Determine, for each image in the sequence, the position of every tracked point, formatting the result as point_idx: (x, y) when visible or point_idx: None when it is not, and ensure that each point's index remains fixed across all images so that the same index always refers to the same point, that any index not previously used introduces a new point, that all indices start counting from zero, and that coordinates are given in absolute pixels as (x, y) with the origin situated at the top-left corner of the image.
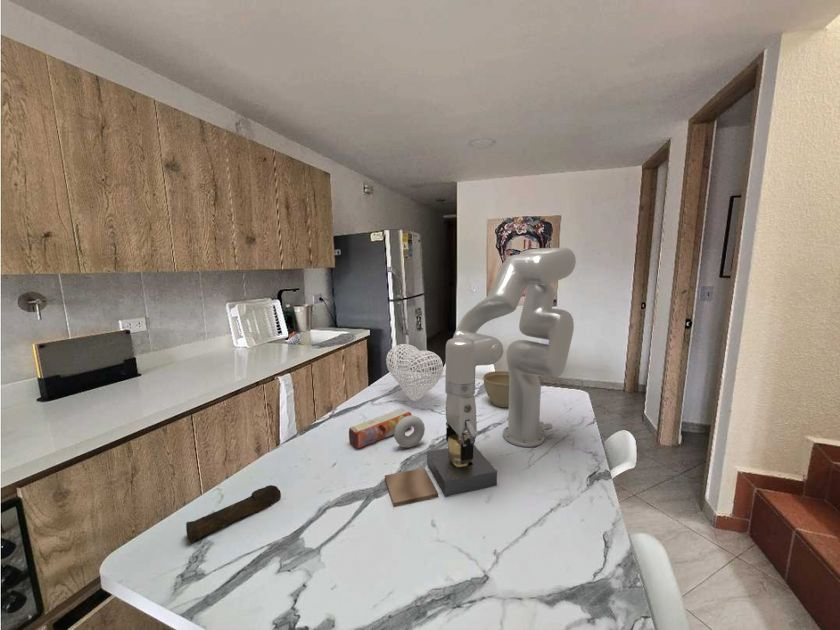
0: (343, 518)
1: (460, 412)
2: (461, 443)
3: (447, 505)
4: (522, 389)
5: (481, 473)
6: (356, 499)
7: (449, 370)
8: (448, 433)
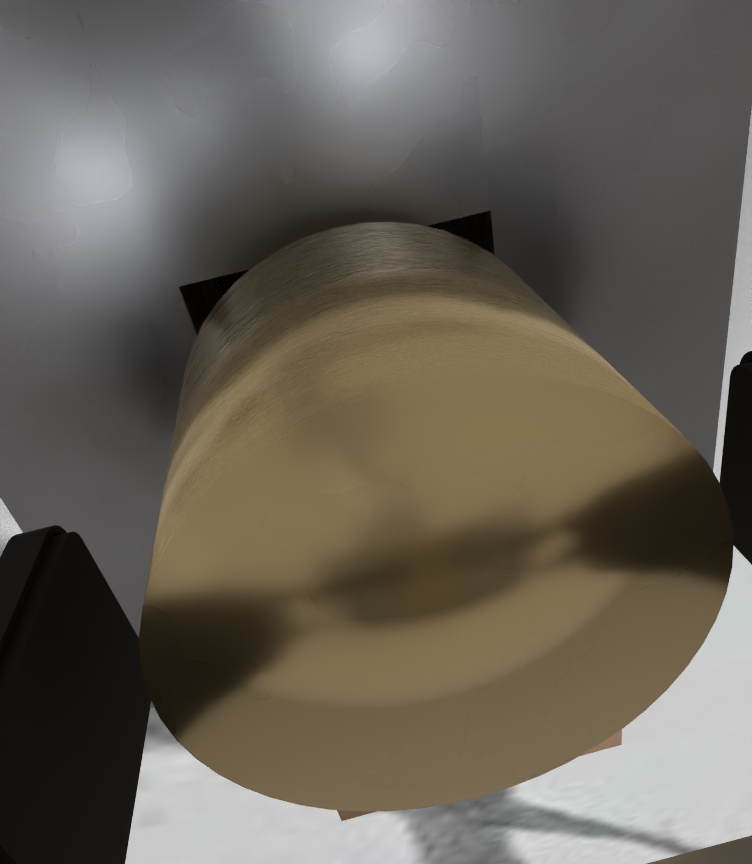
0: (611, 856)
1: None
2: (611, 627)
3: (715, 455)
4: None
5: (732, 138)
6: (497, 852)
7: None
8: (126, 816)
